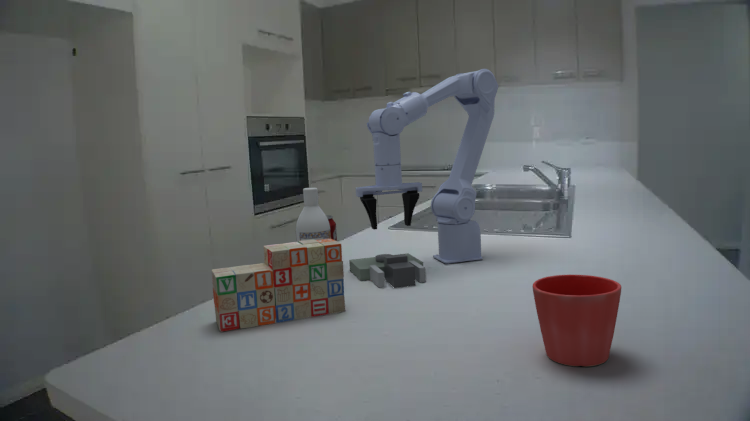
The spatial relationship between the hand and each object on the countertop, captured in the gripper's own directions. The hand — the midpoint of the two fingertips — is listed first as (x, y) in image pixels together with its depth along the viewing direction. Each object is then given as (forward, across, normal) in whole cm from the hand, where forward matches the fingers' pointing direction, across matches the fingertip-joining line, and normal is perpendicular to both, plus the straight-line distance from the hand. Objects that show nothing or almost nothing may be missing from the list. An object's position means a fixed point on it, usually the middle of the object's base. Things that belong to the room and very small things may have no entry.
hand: (391, 227), depth 123 cm
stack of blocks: (+10, -27, -21) cm, 36 cm away
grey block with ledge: (+10, -2, -10) cm, 14 cm away
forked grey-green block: (+10, -2, -3) cm, 10 cm away
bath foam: (+10, -18, -4) cm, 21 cm away
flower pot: (+10, +7, -55) cm, 56 cm away
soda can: (+10, -14, +10) cm, 20 cm away
